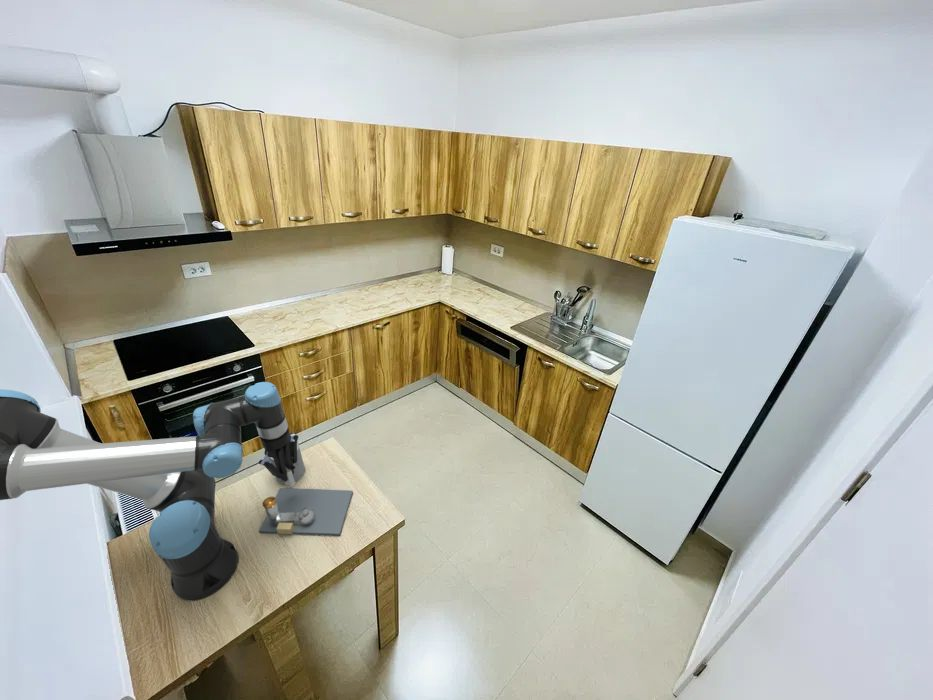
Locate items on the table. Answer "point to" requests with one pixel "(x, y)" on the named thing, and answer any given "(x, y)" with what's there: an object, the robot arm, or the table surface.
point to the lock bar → (286, 514)
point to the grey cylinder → (299, 467)
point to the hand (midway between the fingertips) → (290, 483)
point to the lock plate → (325, 506)
